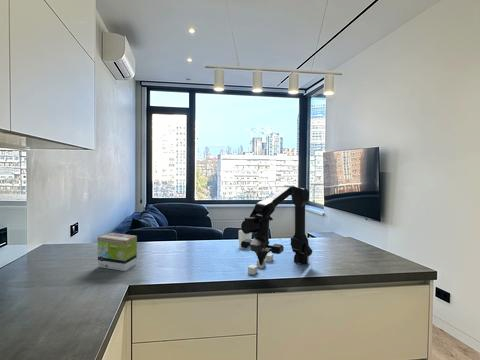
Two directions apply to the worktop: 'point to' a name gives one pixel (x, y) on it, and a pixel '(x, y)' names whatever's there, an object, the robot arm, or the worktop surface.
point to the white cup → (243, 237)
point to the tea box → (117, 251)
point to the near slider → (252, 269)
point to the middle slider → (262, 264)
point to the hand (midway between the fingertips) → (261, 264)
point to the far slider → (269, 257)
